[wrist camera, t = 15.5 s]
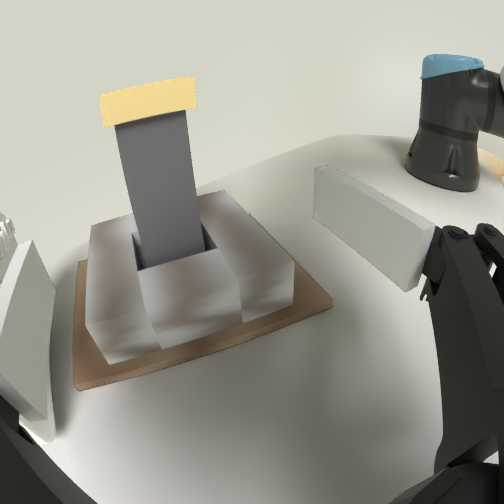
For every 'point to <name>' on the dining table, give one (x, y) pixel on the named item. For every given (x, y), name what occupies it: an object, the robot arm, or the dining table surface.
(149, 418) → the dining table surface
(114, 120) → the plug
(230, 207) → the socket
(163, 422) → the dining table surface
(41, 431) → the cable organizer
